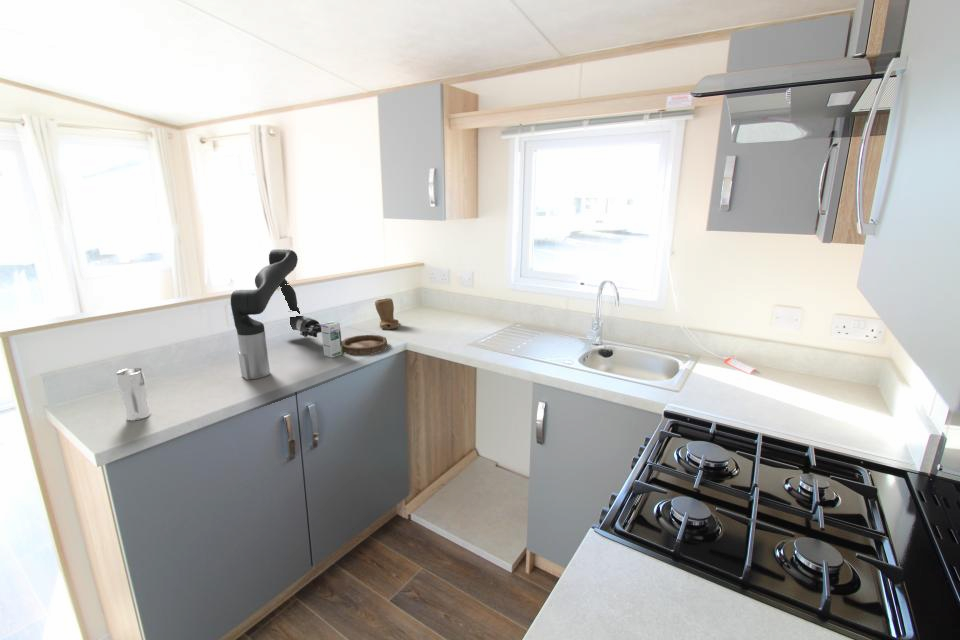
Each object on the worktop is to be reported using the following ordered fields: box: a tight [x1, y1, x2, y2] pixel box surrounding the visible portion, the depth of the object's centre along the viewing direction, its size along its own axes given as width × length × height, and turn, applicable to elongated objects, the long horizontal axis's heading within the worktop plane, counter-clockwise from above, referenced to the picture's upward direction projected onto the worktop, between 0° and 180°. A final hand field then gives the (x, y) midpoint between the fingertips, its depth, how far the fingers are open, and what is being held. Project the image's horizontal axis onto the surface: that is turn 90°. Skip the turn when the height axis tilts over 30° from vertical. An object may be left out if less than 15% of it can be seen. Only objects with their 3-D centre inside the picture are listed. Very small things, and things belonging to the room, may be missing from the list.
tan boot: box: [374, 297, 399, 330], centre depth 239 cm, size 15×12×15 cm
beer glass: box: [115, 367, 152, 422], centre depth 140 cm, size 7×7×15 cm
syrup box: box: [320, 320, 344, 359], centre depth 195 cm, size 6×6×14 cm
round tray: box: [341, 334, 388, 356], centre depth 206 cm, size 20×20×3 cm
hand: (325, 332), depth 198 cm, fingers open, 8 cm apart
